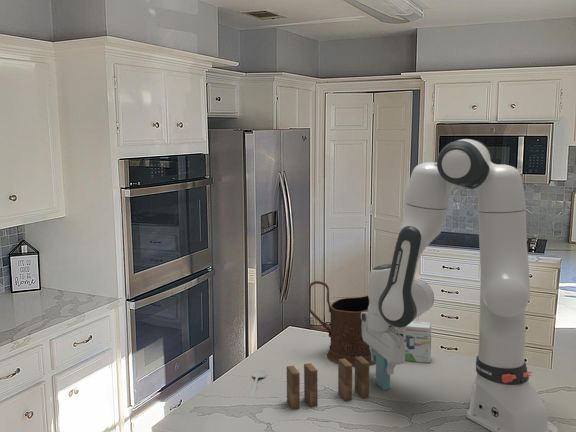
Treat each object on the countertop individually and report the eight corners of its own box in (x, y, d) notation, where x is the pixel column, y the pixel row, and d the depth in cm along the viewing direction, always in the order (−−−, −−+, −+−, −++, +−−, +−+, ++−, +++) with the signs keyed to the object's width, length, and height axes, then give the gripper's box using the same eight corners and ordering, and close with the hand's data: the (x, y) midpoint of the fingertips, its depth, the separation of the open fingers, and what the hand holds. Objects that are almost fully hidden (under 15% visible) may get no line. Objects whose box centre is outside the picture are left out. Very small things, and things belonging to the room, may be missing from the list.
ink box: (430, 357, 186) (431, 322, 184) (429, 363, 181) (430, 327, 180) (403, 354, 189) (404, 319, 187) (402, 360, 184) (402, 325, 182)
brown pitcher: (387, 367, 179) (388, 288, 175) (309, 367, 180) (309, 289, 176) (379, 345, 197) (380, 273, 194) (308, 345, 198) (308, 274, 194)
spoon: (267, 372, 177) (267, 367, 177) (256, 404, 157) (256, 398, 156) (254, 372, 177) (254, 367, 177) (241, 403, 157) (241, 397, 157)
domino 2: (311, 397, 159) (310, 363, 158) (317, 405, 154) (317, 370, 153) (304, 398, 158) (304, 363, 157) (310, 406, 154) (310, 371, 152)
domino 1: (293, 400, 158) (293, 365, 156) (299, 408, 153) (299, 372, 151) (286, 401, 157) (286, 366, 156) (292, 409, 152) (292, 373, 151)
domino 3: (344, 392, 162) (344, 358, 161) (352, 400, 157) (352, 365, 156) (338, 393, 161) (338, 359, 160) (345, 401, 157) (345, 366, 155)
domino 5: (381, 381, 169) (382, 348, 167) (389, 388, 164) (390, 355, 163) (375, 382, 168) (376, 349, 167) (383, 389, 163) (384, 355, 162)
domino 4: (361, 389, 164) (361, 356, 162) (368, 397, 159) (369, 362, 157) (354, 390, 163) (354, 357, 162) (362, 398, 158) (362, 363, 157)
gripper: (411, 331, 154) (410, 380, 156) (377, 309, 174) (376, 353, 176) (390, 334, 153) (389, 383, 155) (358, 311, 172) (357, 355, 174)
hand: (382, 367), depth 165 cm, fingers open, 8 cm apart
